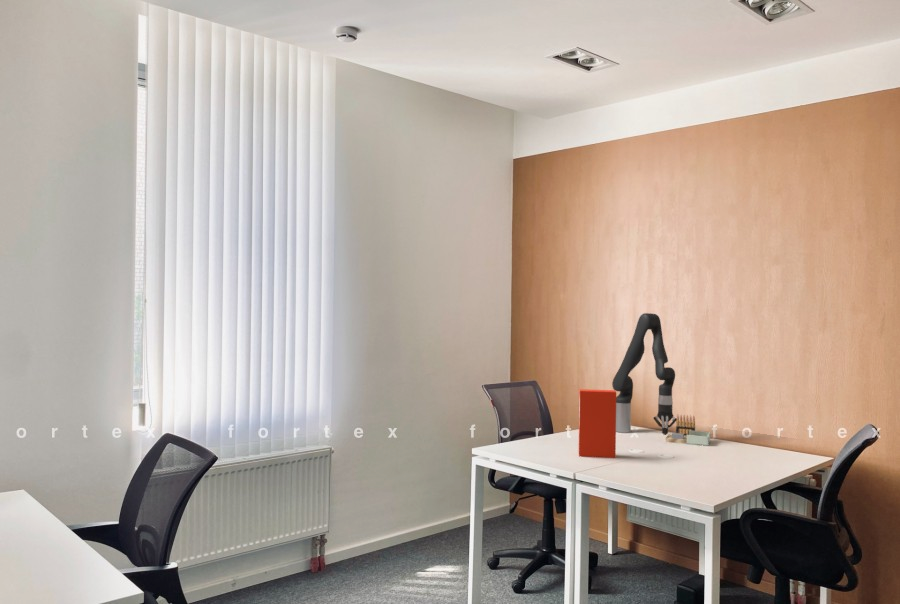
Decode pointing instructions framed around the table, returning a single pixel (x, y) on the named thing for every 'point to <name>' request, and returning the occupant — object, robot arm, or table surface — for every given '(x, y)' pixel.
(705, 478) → the table surface
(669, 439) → the bench plate
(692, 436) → the box
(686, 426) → the ammunition clip
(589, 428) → the file binder
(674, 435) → the tile
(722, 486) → the table surface
